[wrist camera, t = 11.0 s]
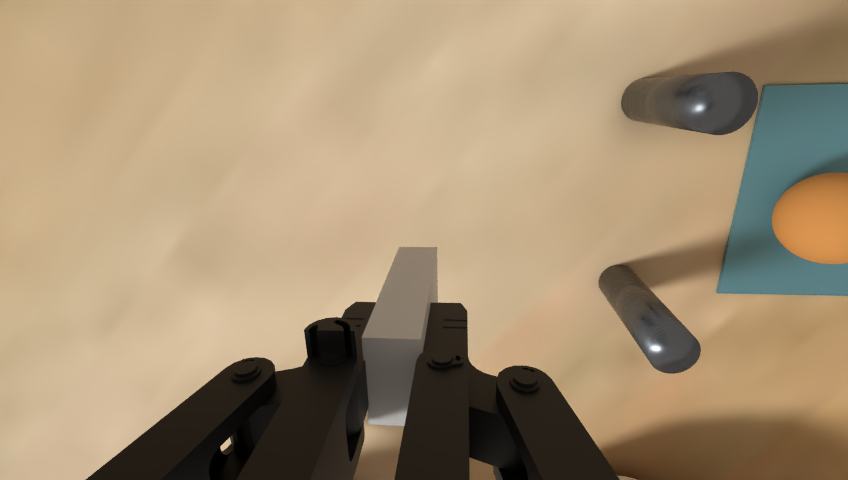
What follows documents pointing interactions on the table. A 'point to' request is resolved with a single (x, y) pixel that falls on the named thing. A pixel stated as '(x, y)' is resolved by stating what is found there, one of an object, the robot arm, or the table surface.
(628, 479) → the sculpture
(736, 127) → the post
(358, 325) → the robot arm
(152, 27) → the table surface
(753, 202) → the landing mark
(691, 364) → the post
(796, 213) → the ball
